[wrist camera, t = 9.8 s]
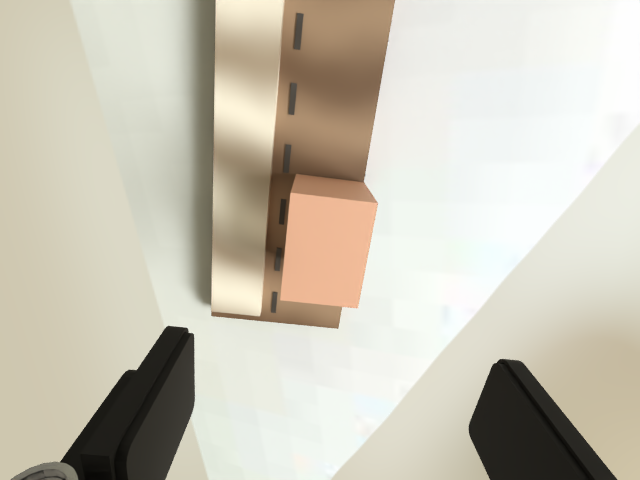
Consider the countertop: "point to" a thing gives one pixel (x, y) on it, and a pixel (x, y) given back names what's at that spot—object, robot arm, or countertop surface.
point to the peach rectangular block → (327, 241)
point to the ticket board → (285, 134)
